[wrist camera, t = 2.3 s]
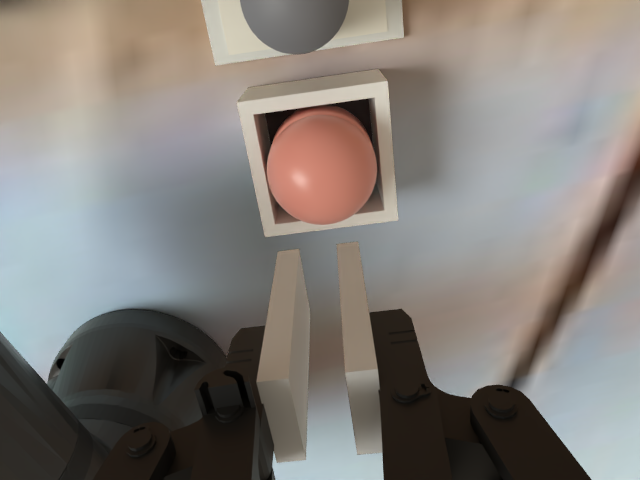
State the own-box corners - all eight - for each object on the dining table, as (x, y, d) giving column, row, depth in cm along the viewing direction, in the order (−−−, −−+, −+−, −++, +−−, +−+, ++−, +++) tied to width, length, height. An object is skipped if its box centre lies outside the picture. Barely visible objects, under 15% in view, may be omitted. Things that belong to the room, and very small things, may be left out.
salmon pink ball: (281, 206, 33) (273, 250, 28) (263, 111, 31) (250, 138, 25) (375, 194, 33) (387, 235, 27) (366, 96, 30) (377, 120, 24)
